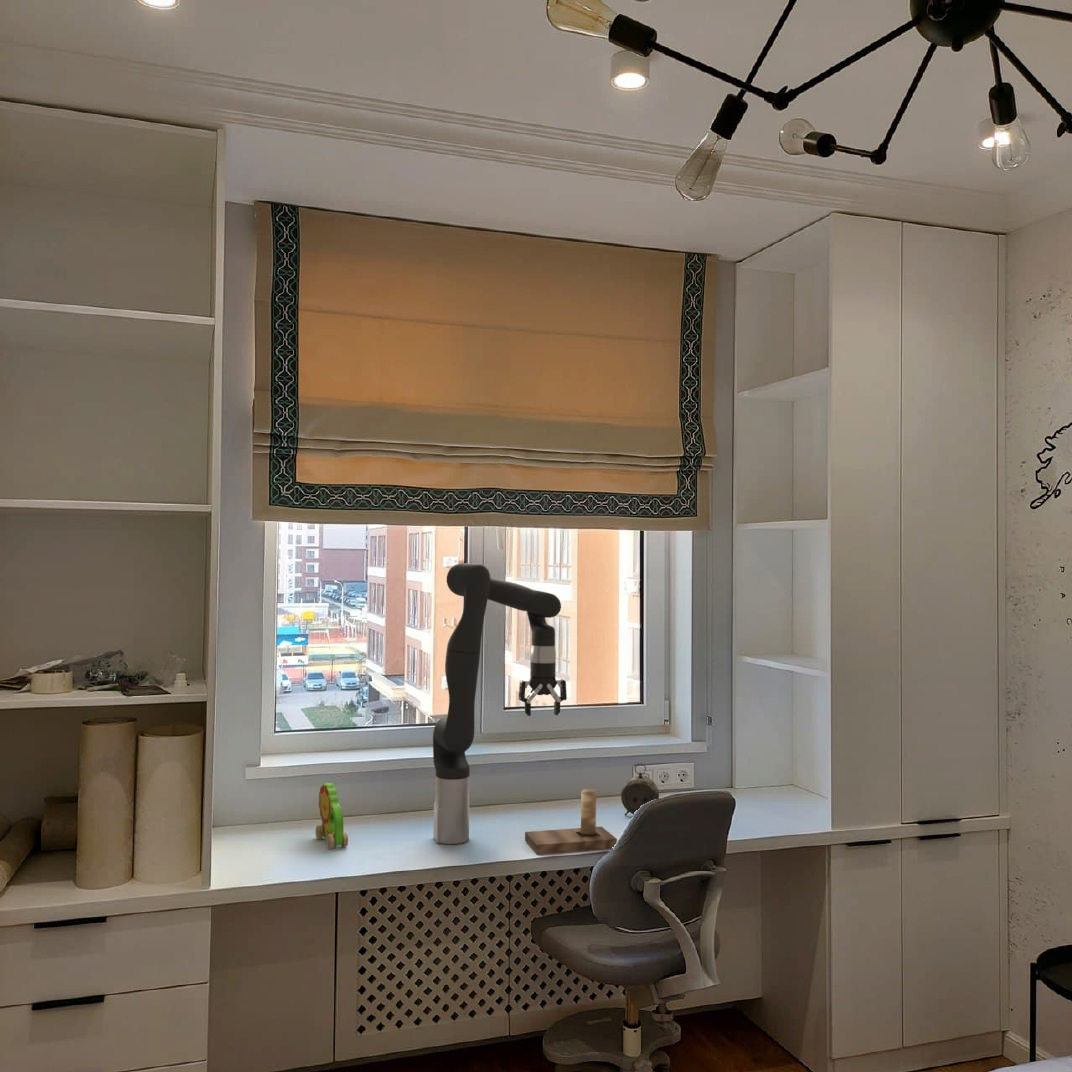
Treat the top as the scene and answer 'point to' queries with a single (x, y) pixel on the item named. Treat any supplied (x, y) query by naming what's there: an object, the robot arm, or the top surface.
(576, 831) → the walnut board
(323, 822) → the toy lion
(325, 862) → the top surface
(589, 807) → the oak peg
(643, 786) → the alarm clock
